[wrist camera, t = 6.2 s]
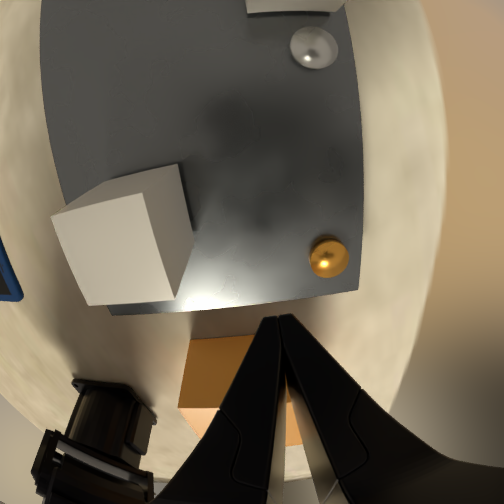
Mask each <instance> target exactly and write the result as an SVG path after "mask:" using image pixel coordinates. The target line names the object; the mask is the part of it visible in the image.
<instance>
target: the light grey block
mask: <svg viewBox="0 0 504 504" xmlns="http://www.w3.org/2000/svg"><path fill="white" fill-rule="evenodd" d="M50 217H51V220H52V223H53V226H54V228H55V231H56V234H57V236H58V239H59V242H60V244H61V247H62V249H63V252H64V254H65V257H66V259H67V261H68V264H69V266H70V268H71V271H72V273H73V275H74V277H75V279H76V281H77V284H78V286H79V288H80V290H81V292H82V294H83V296H84V298H85V300H86V302H87V304H88V306H94V305H112V304H128V303H142V302H155V301H168V300H175V298H176V295H177V292H178V289H179V286H180V283H181V280H182V277H183V274H184V272H185V269H186V266H187V263H188V260H189V257H190V254H191V252H192V249H193V246H194V243H195V240H194V236H193V232H192V227H191V223H190V219H189V215H188V210H187V206H186V201H185V197H184V192H183V188H182V183H181V178H180V173H179V168H178V164H174V165H170V166H165V167H160V168H156V169H151V170H147V171H143V172H139V173H135V174H131V175H127V176H123V177H119V178H115V179H112V180H108V181H104V182H103V183H101V184H99V185H98V186H96V187H94V188H93V189H91V190H89V191H88V192H86V193H85V194H83V195H81V196H80V197H78V198H77V199H75V200H74V201H72V202H71V203H69V204H68V205H66V206H65V207H63V208H62V209H60V210H59V211H57V212H56V213H55V214H53V215H52V216H50Z"/></svg>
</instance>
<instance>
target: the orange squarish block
mask: <svg viewBox="0 0 504 504" xmlns="http://www.w3.org/2000/svg"><path fill="white" fill-rule="evenodd" d="M254 336H255V335H246V336H235V337H223V338H210V339H195V340H190V343H189V348H188V354H187V359H186V364H185V369H184V375H183V380H182V385H181V391H180V397H179V403H178V409H179V411H180V412H181V414H182V415H183V416H184V418H185V419H186V421H187V422H188V423H189V425H190V426H191V427H192V429H193V430H194V431H195V433H196V434H197V435H198V437H199V438H200V439H201V438H202V437H203V435H204V434H205V432H206V430H207V428H208V427H209V425H210V423H211V421H212V420H213V418H214V416H215V414H216V412H217V410H220V409H219V406H220V404H221V402H222V400H223V399H224V397H225V395H226V393H227V391H228V389H229V387H230V385H231V383H232V381H233V379H234V377H235V375H236V373H237V371H238V369H239V367H240V365H241V363H242V360H243V358H244V356H245V354H246V352H247V350H248V348H249V346H250V344H251V342H252V340H253V338H254ZM285 377H286V376H285ZM286 389H287V401H286V443H285V446H293V445H301V444H303V443H302V439H301V435H300V432H299V428H298V425H297V421H296V417H295V414H294V410H293V407H292V403H291V399H290V396H289V392H288V388H287V383H286Z"/></svg>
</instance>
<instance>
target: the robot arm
mask: <svg viewBox="0 0 504 504" xmlns="http://www.w3.org/2000/svg"><path fill="white" fill-rule="evenodd" d="M285 376H286V377H285ZM286 383H287V388H288V392H289V396H290V399H291V403H292V407H293V410H294V414H295V417H296V421H297V425H298V428H299V432H300V435H301V439H302V443H303V446H304V450H305V453H306V457H307V461H308V464H309V468H310V471H311V475H312V478H313V482H314V485H315V489H316V493H317V496H318V500H319V503H320V504H504V468H501V467H493V466H486V465H480V464H474V463H469V462H463V461H459V460H455V459H452V458H449V457H447V456H445V455H443V454H441V453H439V452H437V451H436V450H435V449H433V448H432V447H430V446H429V445H428V444H426V443H425V442H424V441H422V440H421V439H420V438H418V437H417V436H416V435H414V434H413V433H412V432H410V431H409V430H408V429H407V428H405V427H404V426H403V425H401V424H400V423H399V422H398V421H396V420H395V419H394V418H393V417H392V416H390V415H389V414H388V413H387V412H386V411H385V410H384V409H383V408H381V407H380V406H379V405H378V404H377V403H376V402H375V401H374V400H373V399H372V398H371V397H370V396H369V395H368V394H367V392H366V391H365V390H364V389H361V386H360V385H359V384H358V383H357V382H356V381H355V380H354V379H353V378H352V377H351V376H350V375H349V374H348V373H347V372H346V370H345V369H344V368H343V367H342V366H341V365H340V364H339V363H338V362H337V361H336V360H335V359H334V358H333V357H332V356H331V354H330V353H329V352H328V351H327V350H326V349H325V348H324V347H323V346H322V345H321V344H320V343H319V342H318V341H317V339H316V338H315V337H314V336H313V335H312V334H311V333H310V332H309V331H308V330H307V329H306V328H305V327H304V325H303V324H302V323H301V322H300V321H299V320H298V319H297V318H296V317H295V316H294V315H293V314H291V313H290V314H283V315H279V316H278V317H277V316H269V317H264V318H263V319H262V321H261V323H260V325H259V327H258V329H257V331H256V333H255V336H254V338H253V340H252V342H251V344H250V346H249V348H248V350H247V352H246V354H245V356H244V358H243V360H242V363H241V365H240V367H239V369H238V371H237V373H236V375H235V377H234V379H233V381H232V383H231V385H230V387H229V389H228V391H227V393H226V395H225V397H224V399H223V400H222V402H221V404H220V406H219V409H220V410H217V412H216V414H215V416H214V418H213V420H212V421H211V423H210V425H209V427H208V428H207V430H206V432H205V434H204V435H203V437H202V438H201V440H200V441H199V443H198V444H197V446H196V447H195V449H194V450H193V452H192V453H191V454H190V456H189V457H188V458H187V460H186V461H185V462H184V464H183V465H182V466H181V467H180V469H179V470H178V471H177V473H176V474H175V475H174V476H173V478H172V479H171V480H170V481H169V483H168V484H167V485H166V486H165V488H164V489H163V490H162V491H161V492H160V493H159V494H158V495H157V496H156V497H155V498H154V484H153V473H152V472H149V471H143V470H140V469H139V465H140V460H141V455H145V454H146V453H147V448H148V443H149V438H150V433H151V428H152V425H156V424H157V420H156V419H155V417H154V416H153V415H152V414H151V413H150V411H149V410H148V409H147V408H146V407H145V405H144V404H143V403H142V402H141V400H140V399H139V398H138V396H137V395H136V394H135V393H134V391H133V390H132V389H131V388H130V387H129V386H127V385H123V384H111V383H102V382H93V381H85V380H78V379H73V380H72V382H71V384H72V385H73V387H74V388H75V389H76V390H77V391H78V392H79V393H80V395H79V397H78V400H77V402H76V405H75V407H74V410H73V412H72V415H71V418H70V420H69V423H68V426H67V428H66V431H65V434H64V435H63V434H61V432H59V431H58V430H56V429H55V432H54V431H51V430H48V429H46V431H45V434H44V436H43V439H42V442H41V445H40V447H39V450H38V452H37V455H36V458H35V461H34V464H33V467H32V470H31V474H32V476H33V478H34V480H35V485H36V486H37V489H36V494H38V495H40V496H42V497H43V501H42V504H283V489H284V469H285V443H286V401H287V389H286ZM56 448H58V449H60V450H61V451H63V452H65V453H64V454H63V455H62V454H60V453H58V452H56V451H55V450H56ZM89 464H90V465H89ZM91 465H92V466H91ZM98 468H99V469H98ZM105 471H106V472H105ZM110 473H111V474H110ZM115 475H116V476H115ZM123 478H124V479H123ZM0 504H5V503H3V502H1V501H0Z"/></svg>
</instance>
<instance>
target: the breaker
mask: <svg viewBox="0 0 504 504" xmlns="http://www.w3.org/2000/svg"><path fill="white" fill-rule="evenodd" d="M346 1H348V0H245V3H246V9H247V13H257V12H271V11H325V12H336V11H337V10H338V9H339V8H340V7H341V6H342V5H343V4H344V3H345V2H346Z"/></svg>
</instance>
